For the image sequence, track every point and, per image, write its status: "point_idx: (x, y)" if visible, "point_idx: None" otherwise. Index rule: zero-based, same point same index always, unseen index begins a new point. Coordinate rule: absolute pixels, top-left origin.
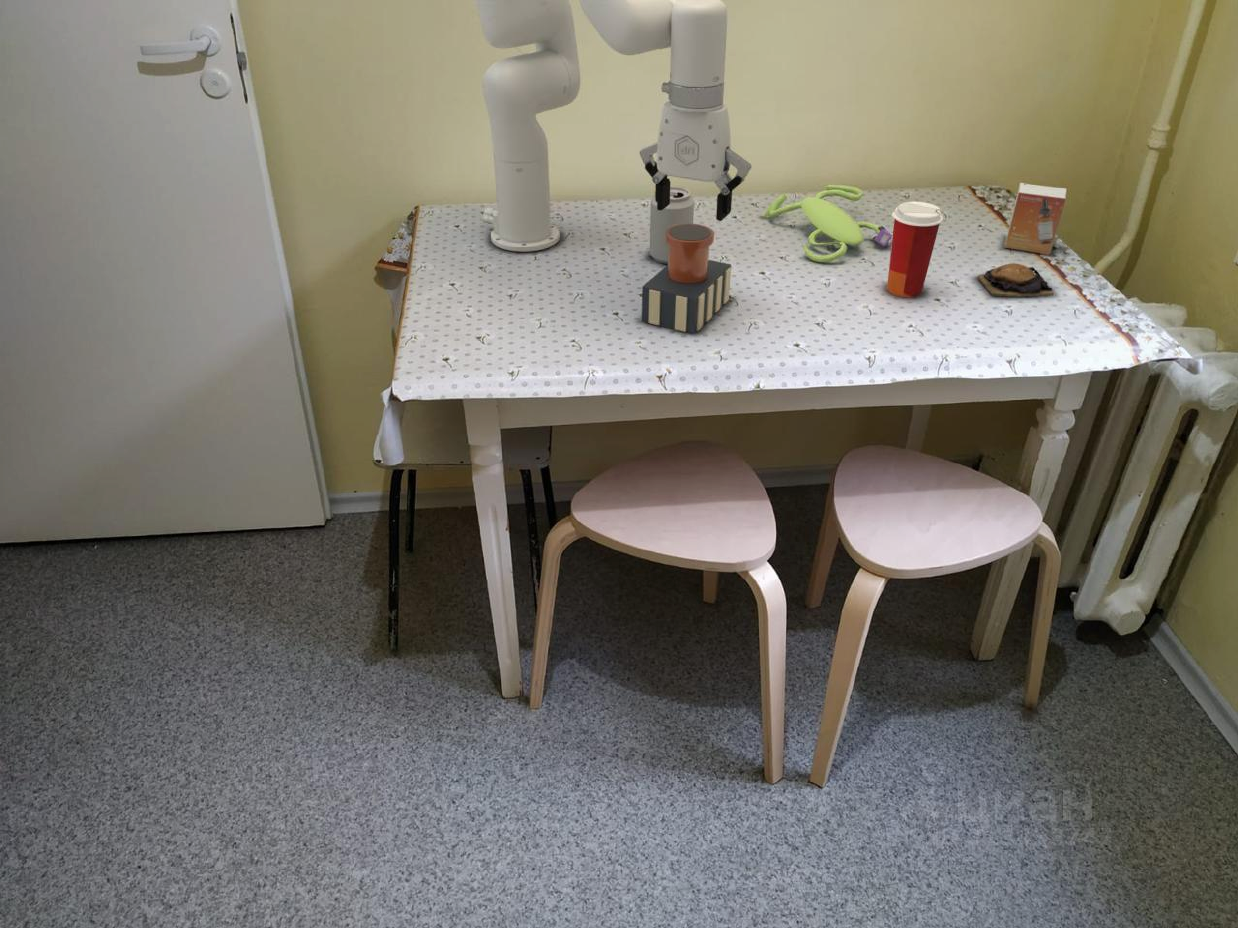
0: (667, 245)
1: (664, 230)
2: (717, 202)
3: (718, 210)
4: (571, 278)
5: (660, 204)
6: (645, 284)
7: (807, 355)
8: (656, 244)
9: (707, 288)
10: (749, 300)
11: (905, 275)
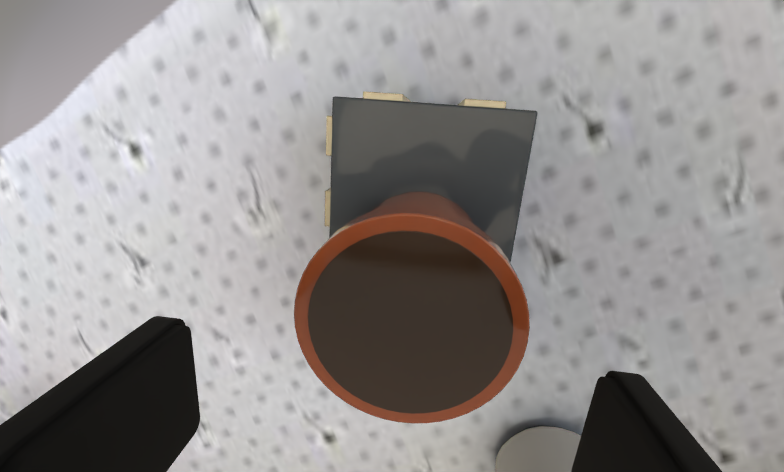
0: (554, 462)
1: None
2: (75, 408)
3: (118, 357)
4: (780, 286)
5: (633, 404)
6: (531, 130)
7: (96, 113)
8: None
9: (331, 192)
10: None
11: None
